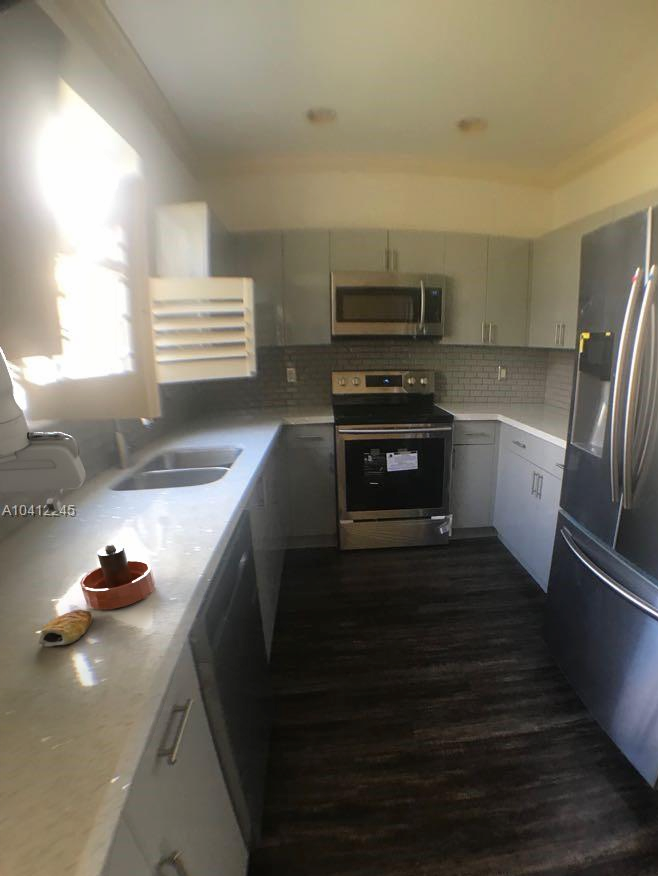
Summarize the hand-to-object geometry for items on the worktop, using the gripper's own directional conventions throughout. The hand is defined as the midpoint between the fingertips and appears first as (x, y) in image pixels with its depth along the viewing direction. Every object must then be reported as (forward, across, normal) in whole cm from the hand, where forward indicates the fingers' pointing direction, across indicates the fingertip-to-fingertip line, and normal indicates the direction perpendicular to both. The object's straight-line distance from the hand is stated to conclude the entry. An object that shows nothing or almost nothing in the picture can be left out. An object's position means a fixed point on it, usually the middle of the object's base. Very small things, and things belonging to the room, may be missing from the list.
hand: (21, 512), depth 75 cm
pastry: (+25, -2, +4) cm, 25 cm away
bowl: (+27, -9, -7) cm, 29 cm away
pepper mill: (+26, -9, -8) cm, 29 cm away
